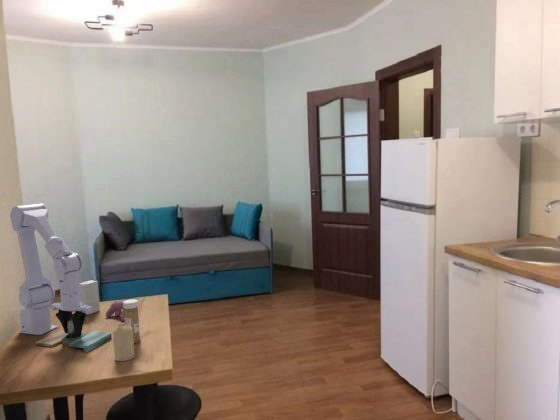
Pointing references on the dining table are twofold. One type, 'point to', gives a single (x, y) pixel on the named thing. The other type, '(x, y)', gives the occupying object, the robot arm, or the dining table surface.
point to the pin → (71, 329)
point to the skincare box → (90, 295)
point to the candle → (123, 342)
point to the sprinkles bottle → (132, 317)
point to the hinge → (76, 340)
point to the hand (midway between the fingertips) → (73, 332)
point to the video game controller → (116, 310)
